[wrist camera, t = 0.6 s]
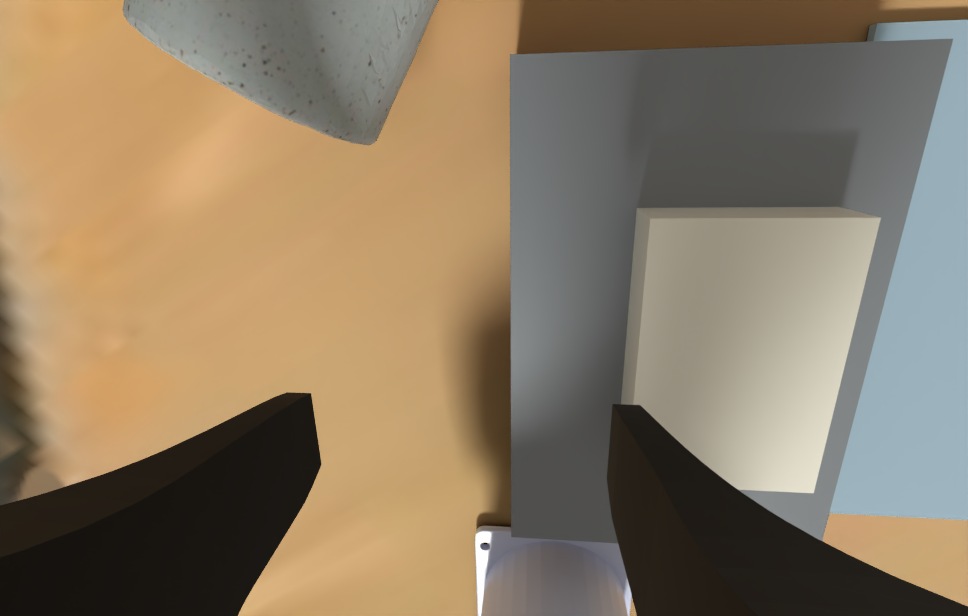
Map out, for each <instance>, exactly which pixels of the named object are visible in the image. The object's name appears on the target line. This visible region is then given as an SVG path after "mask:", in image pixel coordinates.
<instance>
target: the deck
mask: <svg viewBox="0 0 968 616" xmlns="http://www.w3.org/2000/svg"><path fill="white" fill-rule="evenodd" d="M952 42H953V39H926V40H899V41H871V42H843V43H815V44H788V45H760V46H732V47H705V48H677V49H649V50H621V51H594V52H566V53H538V54H510V249H511V537H518V538H535V539H552V540H569V541H585V542H602V543H618V541H617V537H616V533H615V529H614V525H613V521H612V515H611V508H610V501H609V493H608V485H607V468H608V456H609V443H610V430H611V417H612V404H621V396H622V384H623V372H624V359H625V347H626V335H627V322H628V310H629V298H630V285H631V273H632V261H633V249H634V236H635V224H636V212H637V208H721V207H841V208H845V209H849V210H853V211H857V212H861V213H865V214H869V215H872V216H876V217H880V218H881V220H880V224H879V228H878V232H877V236H876V240H875V245H874V249H873V253H872V257H871V261H870V265H869V269H868V273H867V277H866V281H865V285H864V289H863V294H862V298H861V302H860V306H859V310H858V314H857V318H856V322H855V326H854V330H853V334H852V339H851V343H850V347H849V351H848V355H847V359H846V363H845V367H844V371H843V375H842V379H841V384H840V388H839V392H838V396H837V400H836V404H835V408H834V412H833V416H832V420H831V424H830V428H829V433H828V437H827V441H826V445H825V449H824V453H823V457H822V461H821V465H820V469H819V473H818V478H817V482H816V486H815V490H814V493H796V492H775V491H754V490H739V491H740V492H742V493H743V494H745V495H746V496H748V497H749V498H751V499H752V500H754V501H755V502H757V503H758V504H760V505H761V506H763V507H764V508H766V509H767V510H769V511H770V512H772V513H774V514H775V515H777V516H779V517H780V518H782V519H784V520H785V521H787V522H789V523H790V524H792V525H794V526H796V527H797V528H799V529H801V530H803V531H805V532H806V533H808V534H810V535H812V536H813V537H815V538H817V539H819V540H821V541H822V539H823V535H824V531H825V528H826V524H827V520H828V516H829V512H830V508H831V505H832V501H833V497H834V493H835V489H836V485H837V482H838V478H839V474H840V470H841V466H842V463H843V459H844V455H845V451H846V447H847V443H848V440H849V436H850V432H851V428H852V424H853V420H854V417H855V413H856V409H857V405H858V401H859V398H860V394H861V390H862V386H863V382H864V378H865V375H866V371H867V367H868V363H869V359H870V355H871V352H872V348H873V344H874V340H875V336H876V333H877V329H878V325H879V321H880V317H881V313H882V310H883V306H884V302H885V298H886V294H887V290H888V287H889V283H890V279H891V275H892V271H893V268H894V264H895V260H896V256H897V252H898V248H899V245H900V241H901V237H902V233H903V229H904V225H905V222H906V218H907V214H908V210H909V206H910V203H911V199H912V195H913V191H914V187H915V183H916V180H917V176H918V172H919V168H920V164H921V161H922V157H923V153H924V149H925V145H926V141H927V138H928V134H929V130H930V126H931V122H932V118H933V115H934V111H935V107H936V103H937V99H938V96H939V92H940V88H941V84H942V80H943V76H944V73H945V69H946V65H947V61H948V57H949V53H950V50H951V46H952Z"/></svg>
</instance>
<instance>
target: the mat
mask: <svg viewBox="0 0 968 616" xmlns="http://www.w3.org/2000/svg"><path fill="white" fill-rule="evenodd" d="M926 39H953V42H952V46H951V50H950V53H949V57H948V61H947V65H946V69H945V73H944V76H943V80H942V84H941V88H940V92H939V96H938V99H937V103H936V107H935V111H934V115H933V118H932V122H931V126H930V130H929V134H928V138H927V141H926V145H925V149H924V153H923V157H922V161H921V164H920V168H919V172H918V176H917V180H916V183H915V187H914V191H913V195H912V199H911V203H910V206H909V210H908V214H907V218H906V222H905V225H904V229H903V233H902V237H901V241H900V245H899V248H898V252H897V256H896V260H895V264H894V268H893V271H892V275H891V279H890V283H889V287H888V290H887V294H886V298H885V302H884V306H883V310H882V313H881V317H880V321H879V325H878V329H877V333H876V336H875V340H874V344H873V348H872V352H871V355H870V359H869V363H868V367H867V371H866V375H865V378H864V382H863V386H862V390H861V394H860V398H859V401H858V405H857V409H856V413H855V417H854V420H853V424H852V428H851V432H850V436H849V440H848V443H847V447H846V451H845V455H844V459H843V463H842V466H841V470H840V474H839V478H838V482H837V485H836V489H835V493H834V497H833V501H832V505H831V508H830V512H829V513H837V514H857V515H876V516H896V517H915V518H935V519H954V520H968V20H944V21H919V22H894V23H876V24H873V25H870V27H869V32H868V37H867V41H866V42H871V41H899V40H926Z"/></svg>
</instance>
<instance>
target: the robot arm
mask: <svg viewBox="0 0 968 616" xmlns="http://www.w3.org/2000/svg"><path fill="white" fill-rule="evenodd" d="M320 466H321V459H320V452H319V445H318V438H317V432H316V425H315V418H314V411H313V404H312V398H311V393H285V394H282V395H279V396H277V397H274V398H272V399H270V400H268V401H266V402H263V403H261V404H259V405H257V406H255V407H253V408H251V409H249V410H247V411H245V412H243V413H241V414H239V415H237V416H235V417H233V418H231V419H229V420H227V421H225V422H223V423H221V424H219V425H217V426H215V427H213V428H211V429H209V430H207V431H205V432H203V433H201V434H199V435H196V436H194V437H192V438H190V439H188V440H186V441H183V442H181V443H179V444H177V445H175V446H173V447H171V448H168V449H166V450H164V451H162V452H159V453H157V454H155V455H152V456H150V457H148V458H145V459H143V460H140V461H138V462H135V463H132V464H130V465H127V466H125V467H122V468H119V469H117V470H114V471H112V472H109V473H106V474H103V475H100V476H97V477H94V478H91V479H88V480H85V481H82V482H79V483H76V484H72V485H69V486H66V487H63V488H60V489H57V490H54V491H51V492H48V493H45V494H41V495H38V496H34V497H30V498H27V499H23V500H19V501H16V502H12V503H8V504H4V505H0V616H238V614H239V612H240V609H241V607H242V605H243V604H244V602H245V600H246V598H247V597H248V595H249V593H250V591H251V589H252V588H253V586H254V584H255V583H256V581H257V579H258V578H259V576H260V575H261V573H262V571H263V570H264V568H265V566H266V565H267V563H268V562H269V560H270V558H271V557H272V555H273V554H274V552H275V550H276V549H277V547H278V545H279V544H280V542H281V541H282V539H283V537H284V536H285V534H286V533H287V531H288V529H289V528H290V526H291V524H292V523H293V521H294V519H295V518H296V516H297V514H298V513H299V511H300V509H301V508H302V506H303V504H304V503H305V501H306V499H307V497H308V494H309V492H310V490H311V488H312V486H313V483H314V481H315V479H316V476H317V474H318V471H319V469H320ZM607 485H608V493H609V501H610V508H611V515H612V521H613V525H614V529H615V533H616V537H617V541H618V543H602V542H585V541H569V540H552V539H535V538H518V537H511V527H501V526H480V527H478V528H477V530H476V534H475V553H476V583H477V614H478V616H630V608H631V598H633V602H634V605H635V609H636V613H637V616H968V607H967V606H965V605H962V604H960V603H957V602H955V601H953V600H950V599H948V598H945V597H943V596H940V595H938V594H935V593H933V592H931V591H928V590H926V589H923V588H921V587H918V586H916V585H913V584H911V583H909V582H906V581H904V580H901V579H899V578H897V577H894V576H892V575H890V574H888V573H885V572H883V571H881V570H879V569H877V568H875V567H873V566H871V565H869V564H867V563H864V562H862V561H860V560H858V559H856V558H854V557H852V556H850V555H848V554H846V553H844V552H842V551H840V550H838V549H836V548H834V547H832V546H830V545H828V544H826V543H824V542H822V541H821V540H819V539H817V538H815V537H813V536H812V535H810V534H808V533H806V532H805V531H803V530H801V529H799V528H797V527H796V526H794V525H792V524H790V523H789V522H787V521H785V520H784V519H782V518H780V517H779V516H777V515H775V514H774V513H772V512H770V511H769V510H767V509H766V508H764V507H763V506H761V505H760V504H758V503H757V502H755V501H754V500H752V499H751V498H749V497H748V496H746V495H745V494H743V493H742V492H740V491H739V490H738V489H736V488H735V487H733V486H732V485H731V484H729V483H728V482H727V481H725V480H724V479H723V478H722V477H720V476H719V475H718V474H716V473H715V472H714V471H713V470H711V469H710V468H709V467H708V466H706V465H705V464H704V463H703V462H701V461H700V460H699V459H698V458H697V457H696V456H694V455H693V454H692V453H691V452H690V451H689V450H687V449H686V448H685V447H684V446H683V445H682V444H681V443H680V442H679V441H677V440H676V439H675V438H674V437H673V436H672V435H671V434H670V433H669V432H668V431H667V430H666V429H665V428H664V427H663V426H661V425H660V424H659V423H658V422H657V421H656V420H655V419H654V418H653V417H652V416H651V415H650V414H649V413H648V412H647V411H646V410H645V409H644V408H643V407H642V406H640V405H627V404H612V417H611V430H610V443H609V456H608V468H607ZM483 542H486V543H488V544H483Z"/></svg>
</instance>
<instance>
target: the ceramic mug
mask: <svg viewBox="0 0 968 616" xmlns="http://www.w3.org/2000/svg"><path fill="white" fill-rule="evenodd" d="M438 1H439V0H124V6H123V13H124V16H125V18H126V19H127V21H128V22H129V23H130V25H131V26H133V27H134V28H135V29H137V30H138V31H139V32H140V33H141V34H142V35H143V36H144V37H145V38H146V39H148V40H149V41H150V42H152V43H153V44H154V45H156V46H157V47H158V48H160V49H161V50H163V51H165V52H167V53H168V54H170V55H171V56H173V57H174V58H176V59H178V60H179V61H181V62H182V63H184V64H185V65H187V66H188V67H190V68H192V69H194V70H197V71H199V72H200V73H202V74H203V75H204V76H206V77H208V78H210V79H212V80H214V81H216V82H218V83H220V84H221V85H223V86H225V87H227V88H229V89H230V90H232V91H234V92H236V93H237V94H239V95H241V96H243V97H245V98H246V99H248V100H250V101H252V102H254V103H256V104H258V105H260V106H261V107H263V108H265V109H267V110H269V111H271V112H273V113H275V114H277V115H279V116H282V117H284V118H286V119H288V120H291V121H293V122H295V123H298V124H301V125H304V126H307V127H310V128H312V129H314V130H316V131H318V132H320V133H322V134H325V135H328V136H330V137H333V138H336V139H340V140H344V141H347V142H350V143H355V144H363V145H371V144H373V143H374V142H375V141H377V139H378V136H379V134H380V132H381V130H382V127H383V125H384V123H385V120H386V118H387V116H388V113H389V111H390V109H391V106H392V104H393V102H394V100H395V98H396V95H397V93H398V91H399V89H400V87H401V84H402V82H403V80H404V78H405V76H406V74H407V71H408V69H409V67H410V65H411V63H412V61H413V58H414V56H415V54H416V51H417V49H418V46H419V44H420V41H421V39H422V36H423V34H424V31H425V29H426V27H427V24H428V22H429V20H430V18H431V16H432V13H433V11H434V9H435V7H436V5H437V3H438Z"/></svg>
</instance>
